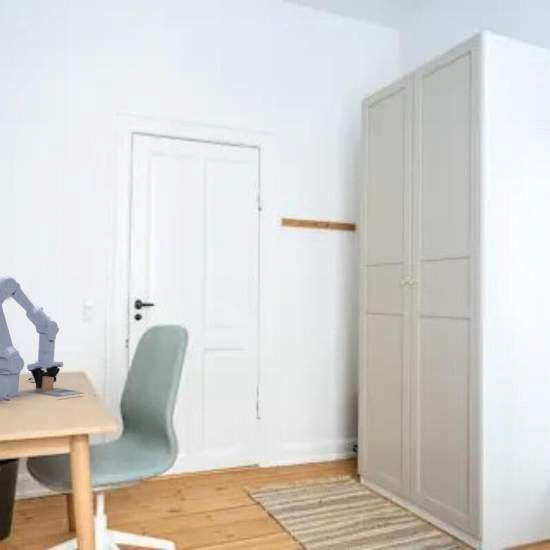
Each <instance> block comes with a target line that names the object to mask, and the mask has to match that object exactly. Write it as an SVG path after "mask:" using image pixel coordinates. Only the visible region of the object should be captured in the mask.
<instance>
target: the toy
mask: <svg viewBox="0 0 550 550" xmlns="http://www.w3.org/2000/svg"><path fill="white" fill-rule="evenodd" d="M35 363H38V360H37V361H35ZM43 367H48V366H43ZM42 370H44V374H43V377H44V376H47V370H46V368H43V369H42ZM28 372H31V370H28ZM27 380H28V381H30V382H31V384H36V383H35V380H34V377H33V375H32V374H31V378H28V379H27ZM55 382H57V377H56V378H55V380H54V383H55Z"/></svg>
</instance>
